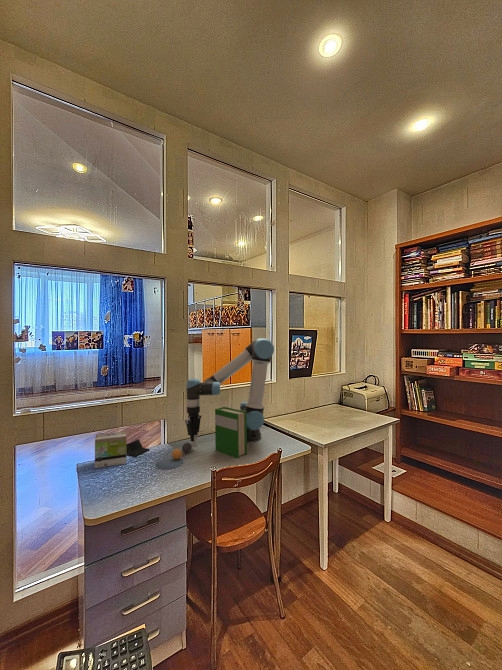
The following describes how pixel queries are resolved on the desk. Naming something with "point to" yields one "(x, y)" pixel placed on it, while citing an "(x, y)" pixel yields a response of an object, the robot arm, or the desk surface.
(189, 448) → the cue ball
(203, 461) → the desk surface
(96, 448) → the tea box
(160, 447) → the desk surface
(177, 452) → the orange ball
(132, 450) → the black bookend
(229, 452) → the hardback book
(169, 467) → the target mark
